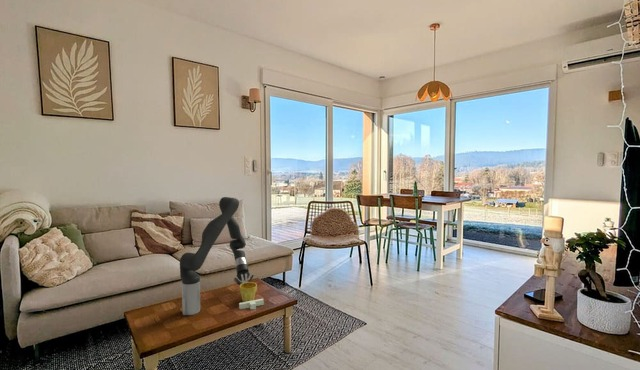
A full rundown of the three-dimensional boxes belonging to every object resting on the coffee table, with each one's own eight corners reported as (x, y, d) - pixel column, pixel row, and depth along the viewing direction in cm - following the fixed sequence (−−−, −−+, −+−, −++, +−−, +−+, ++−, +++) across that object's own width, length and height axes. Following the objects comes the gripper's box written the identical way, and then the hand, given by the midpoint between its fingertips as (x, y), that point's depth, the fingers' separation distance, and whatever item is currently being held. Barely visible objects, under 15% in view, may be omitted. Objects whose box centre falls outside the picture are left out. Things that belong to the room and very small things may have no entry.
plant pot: (254, 304, 183) (254, 288, 182) (237, 304, 183) (237, 288, 182) (258, 297, 193) (258, 282, 192) (242, 296, 193) (242, 281, 193)
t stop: (241, 311, 174) (241, 306, 173) (239, 308, 178) (239, 302, 178) (265, 306, 180) (265, 301, 180) (262, 303, 184) (262, 298, 184)
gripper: (232, 264, 196) (236, 290, 186) (252, 261, 202) (257, 286, 192) (230, 270, 201) (234, 295, 191) (250, 267, 207) (255, 291, 197)
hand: (246, 290), depth 192 cm, fingers closed
